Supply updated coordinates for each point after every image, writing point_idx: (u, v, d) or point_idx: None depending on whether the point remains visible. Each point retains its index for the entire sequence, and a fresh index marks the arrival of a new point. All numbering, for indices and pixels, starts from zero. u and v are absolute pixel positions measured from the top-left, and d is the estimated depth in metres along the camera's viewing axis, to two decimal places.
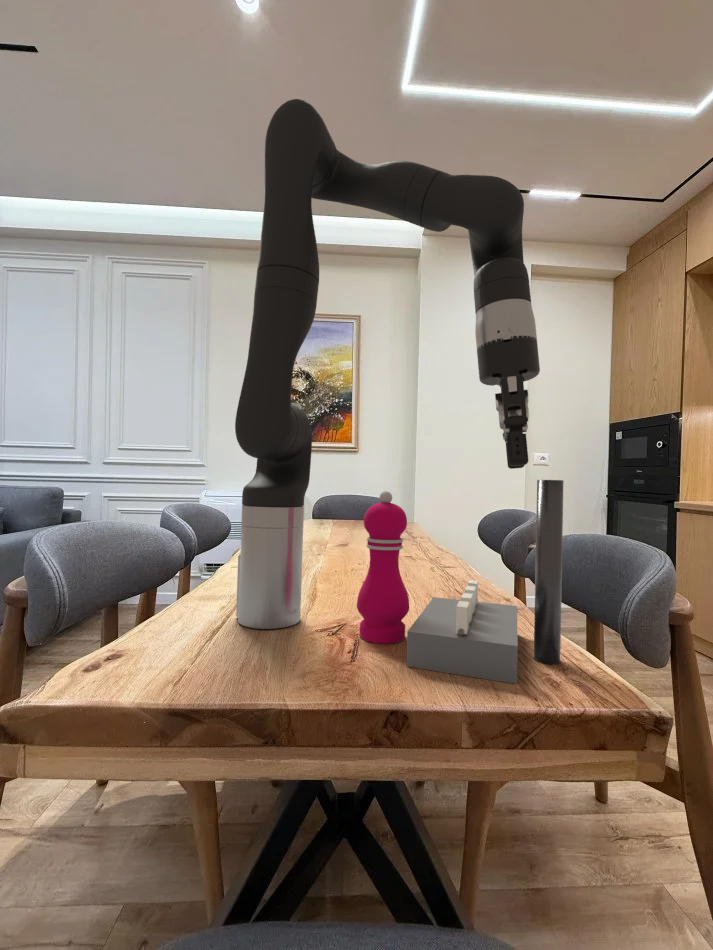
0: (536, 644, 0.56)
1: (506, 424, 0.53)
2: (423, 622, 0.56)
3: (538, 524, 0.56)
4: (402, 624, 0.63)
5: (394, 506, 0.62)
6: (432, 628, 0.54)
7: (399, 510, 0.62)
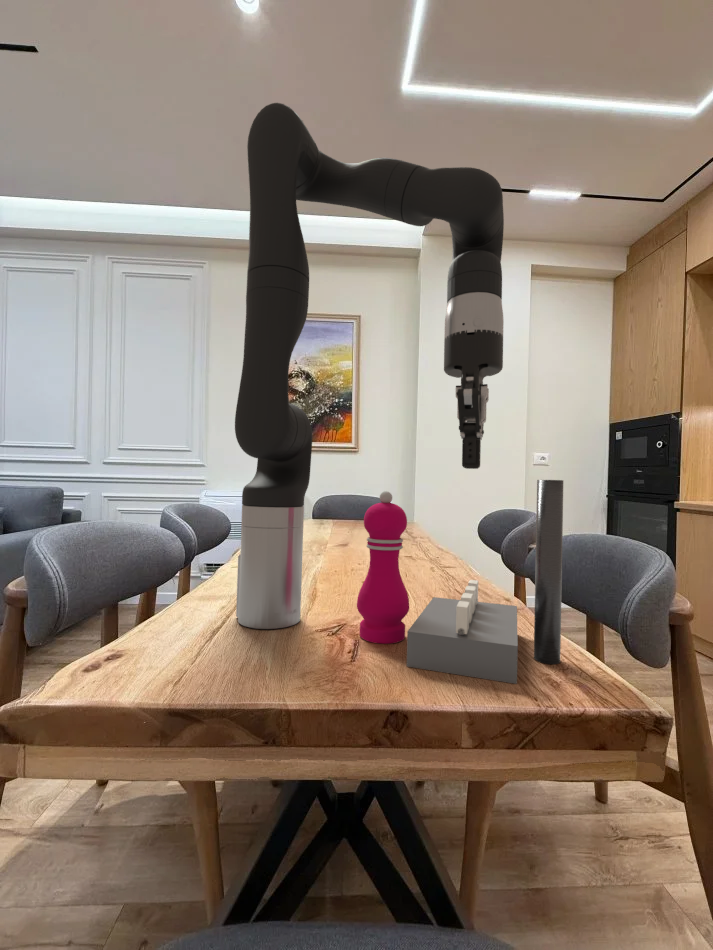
0: (536, 644, 0.56)
1: (461, 432, 0.58)
2: (423, 622, 0.56)
3: (538, 524, 0.56)
4: (402, 624, 0.63)
5: (394, 506, 0.62)
6: (432, 628, 0.54)
7: (400, 510, 0.62)
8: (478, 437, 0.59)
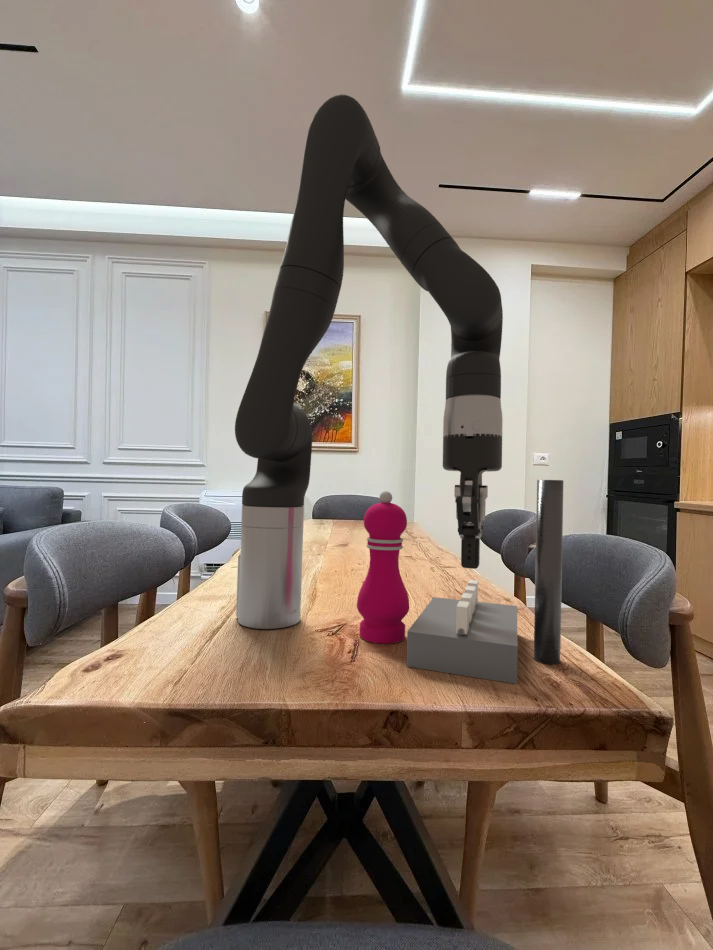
0: (536, 644, 0.56)
1: (460, 534, 0.57)
2: (423, 622, 0.56)
3: (538, 524, 0.56)
4: (402, 624, 0.63)
5: (394, 506, 0.62)
6: (432, 628, 0.54)
7: (399, 510, 0.62)
8: (477, 538, 0.58)
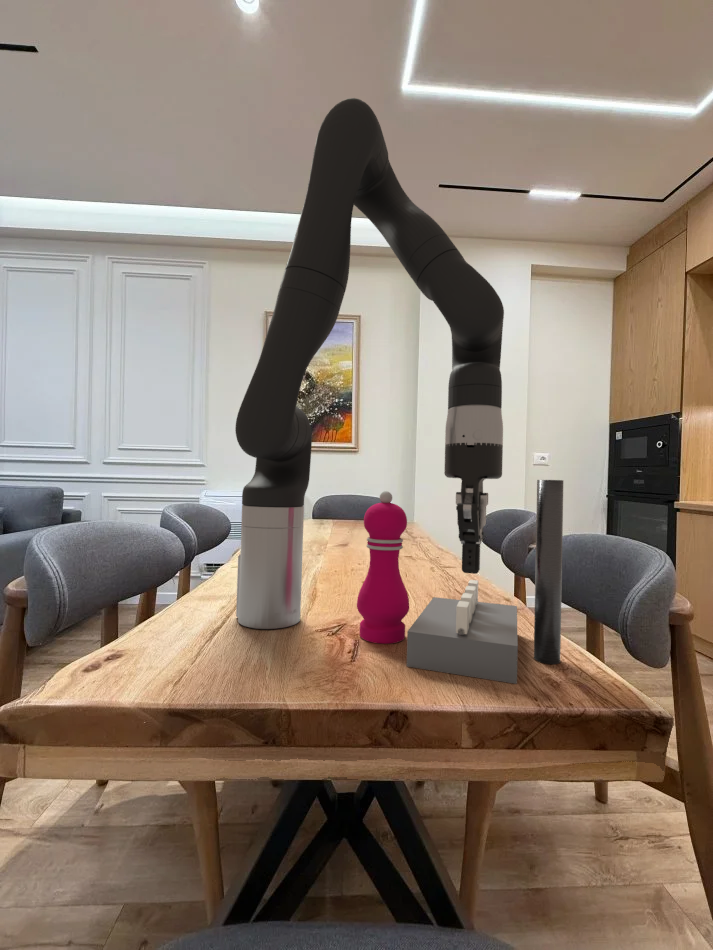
0: (536, 644, 0.56)
1: (460, 540, 0.59)
2: (423, 622, 0.56)
3: (538, 524, 0.56)
4: (402, 624, 0.63)
5: (394, 506, 0.62)
6: (432, 628, 0.54)
7: (400, 510, 0.62)
8: (477, 544, 0.60)
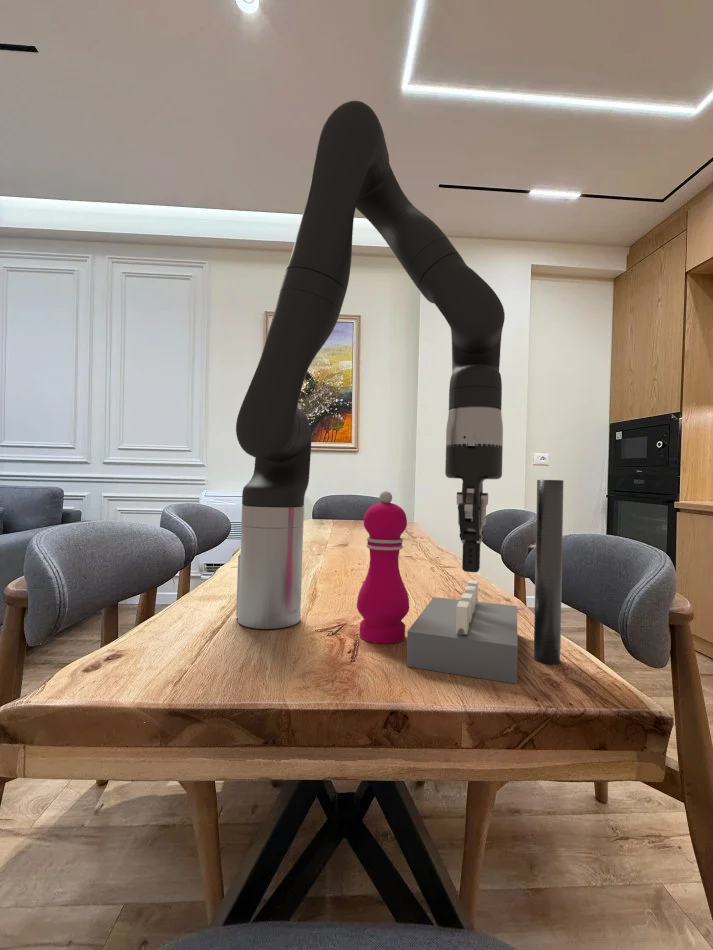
0: (536, 644, 0.56)
1: (461, 539, 0.60)
2: (423, 622, 0.56)
3: (538, 524, 0.56)
4: (402, 624, 0.63)
5: (394, 506, 0.62)
6: (432, 628, 0.54)
7: (399, 510, 0.62)
8: (478, 543, 0.61)
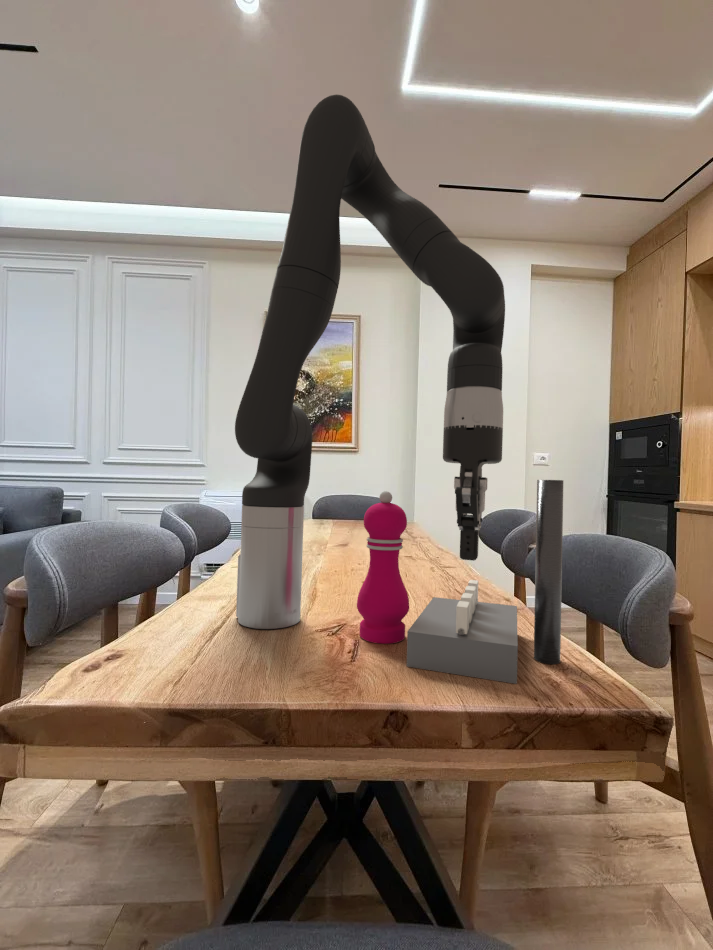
0: (536, 644, 0.56)
1: (459, 526, 0.57)
2: (423, 622, 0.56)
3: (538, 524, 0.56)
4: (402, 624, 0.63)
5: (394, 506, 0.62)
6: (432, 628, 0.54)
7: (399, 510, 0.62)
8: (476, 530, 0.58)
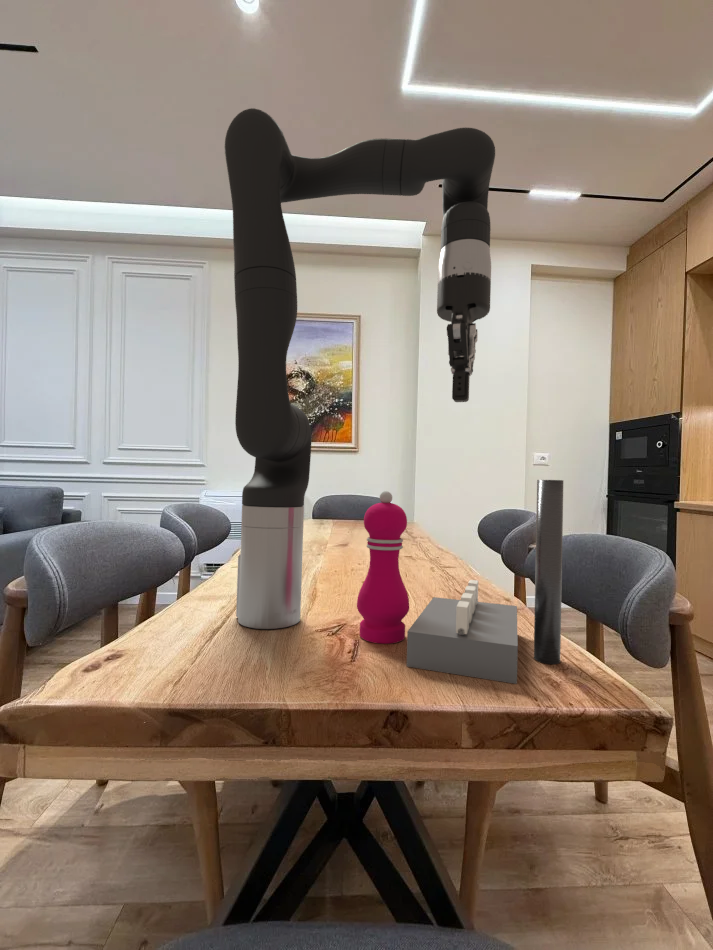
0: (536, 644, 0.56)
1: (451, 366, 0.64)
2: (423, 622, 0.56)
3: (538, 524, 0.56)
4: (402, 624, 0.63)
5: (394, 506, 0.62)
6: (432, 628, 0.54)
7: (400, 510, 0.62)
8: (467, 371, 0.65)
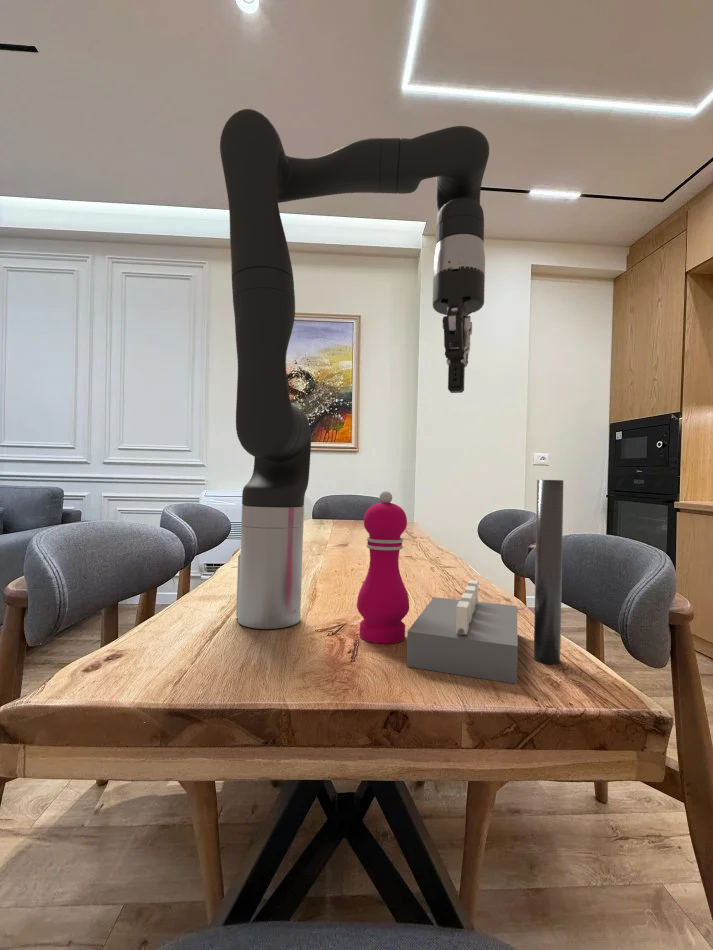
0: (536, 644, 0.56)
1: (447, 357, 0.66)
2: (423, 622, 0.56)
3: (538, 524, 0.56)
4: (402, 624, 0.63)
5: (394, 506, 0.62)
6: (432, 628, 0.54)
7: (399, 510, 0.62)
8: (462, 363, 0.67)
